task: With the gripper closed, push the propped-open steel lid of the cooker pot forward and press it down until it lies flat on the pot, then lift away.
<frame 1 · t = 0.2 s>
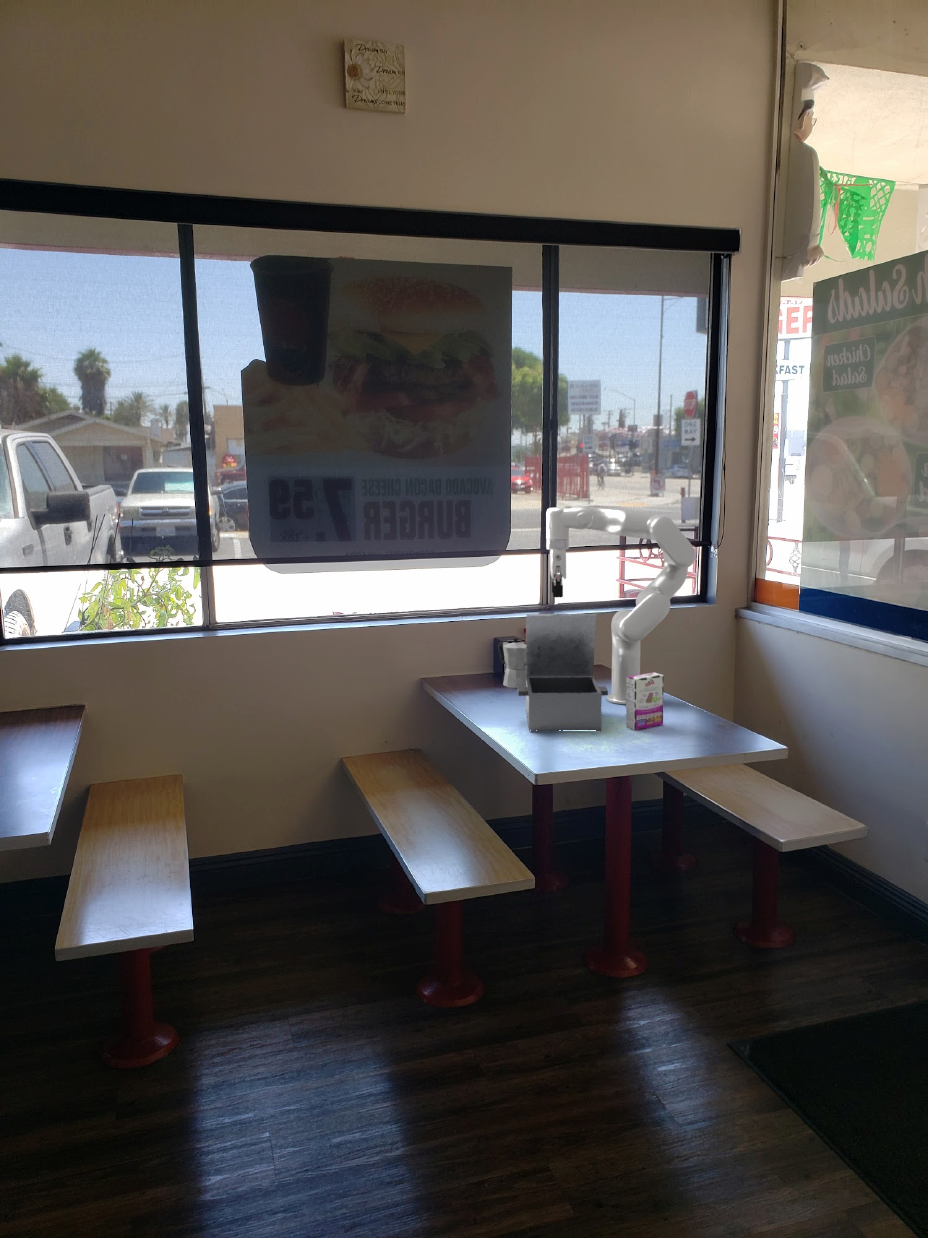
hand: (557, 595, 304), 37 cm above the table, tool pointing down, fingers open, 9 cm apart
cooker pot: (562, 721, 286), on the table
cooker lid: (560, 644, 292), point 23 cm above the table, hinge at 75.0°
coffeepot: (513, 685, 335), on the table
candy bar box: (644, 727, 280), on the table
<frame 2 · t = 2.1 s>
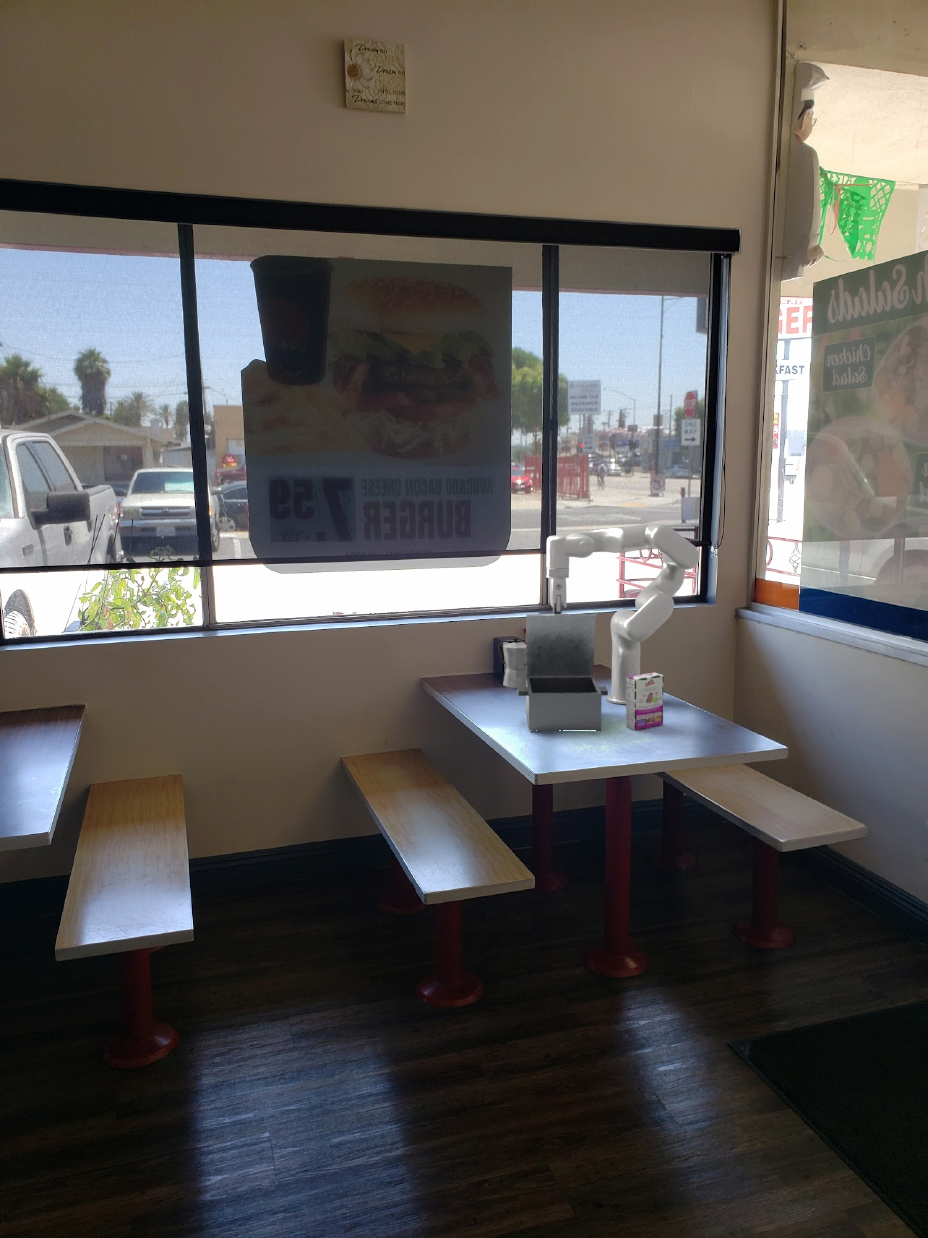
hand: (556, 627, 301), 27 cm above the table, tool pointing down, fingers closed
nothing on the table moved.
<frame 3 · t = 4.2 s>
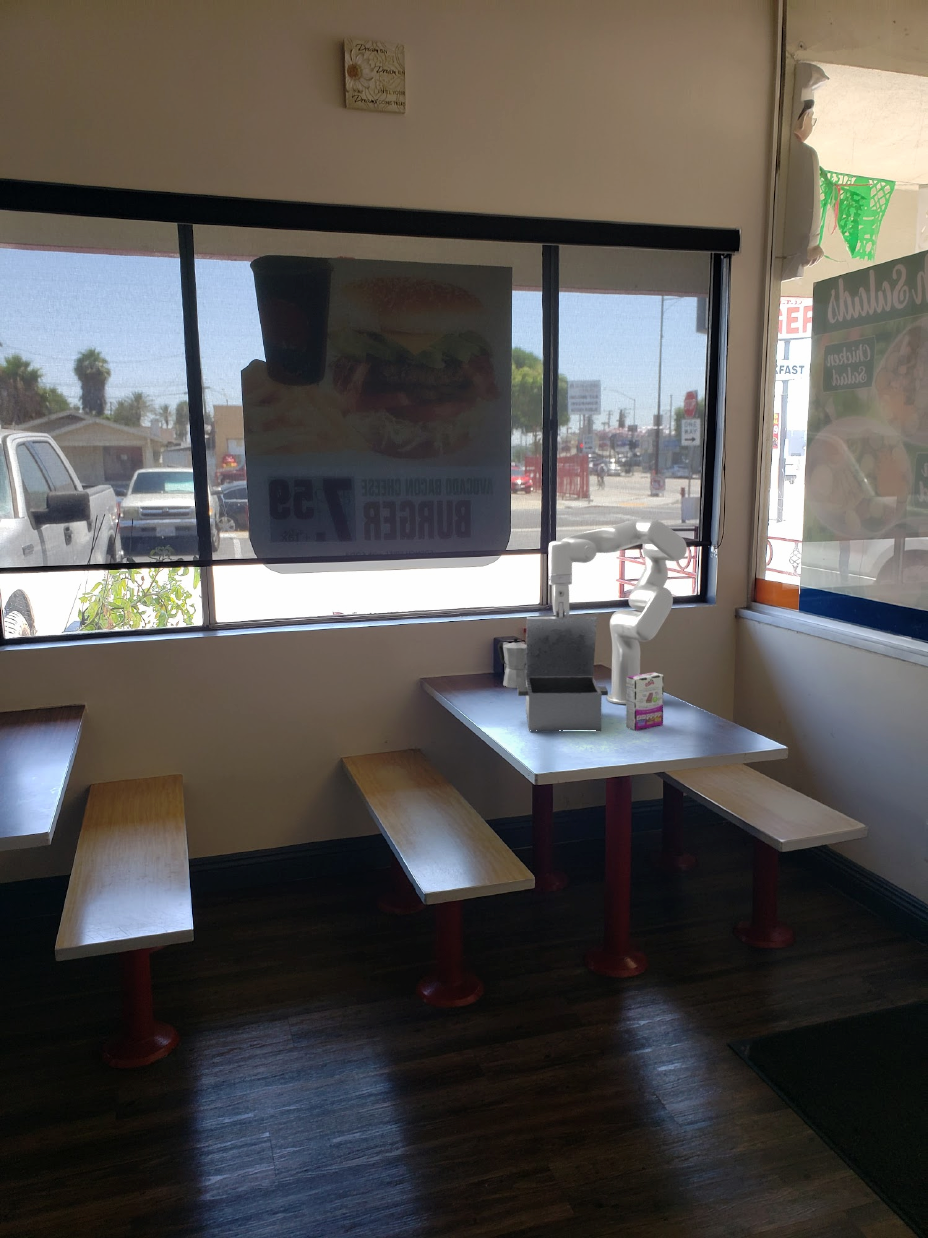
hand: (559, 635, 292), 26 cm above the table, tool pointing down, fingers closed
cooker lid: (560, 645, 291), point 23 cm above the table, hinge at 69.4°, touching gripper
everything else where it was.
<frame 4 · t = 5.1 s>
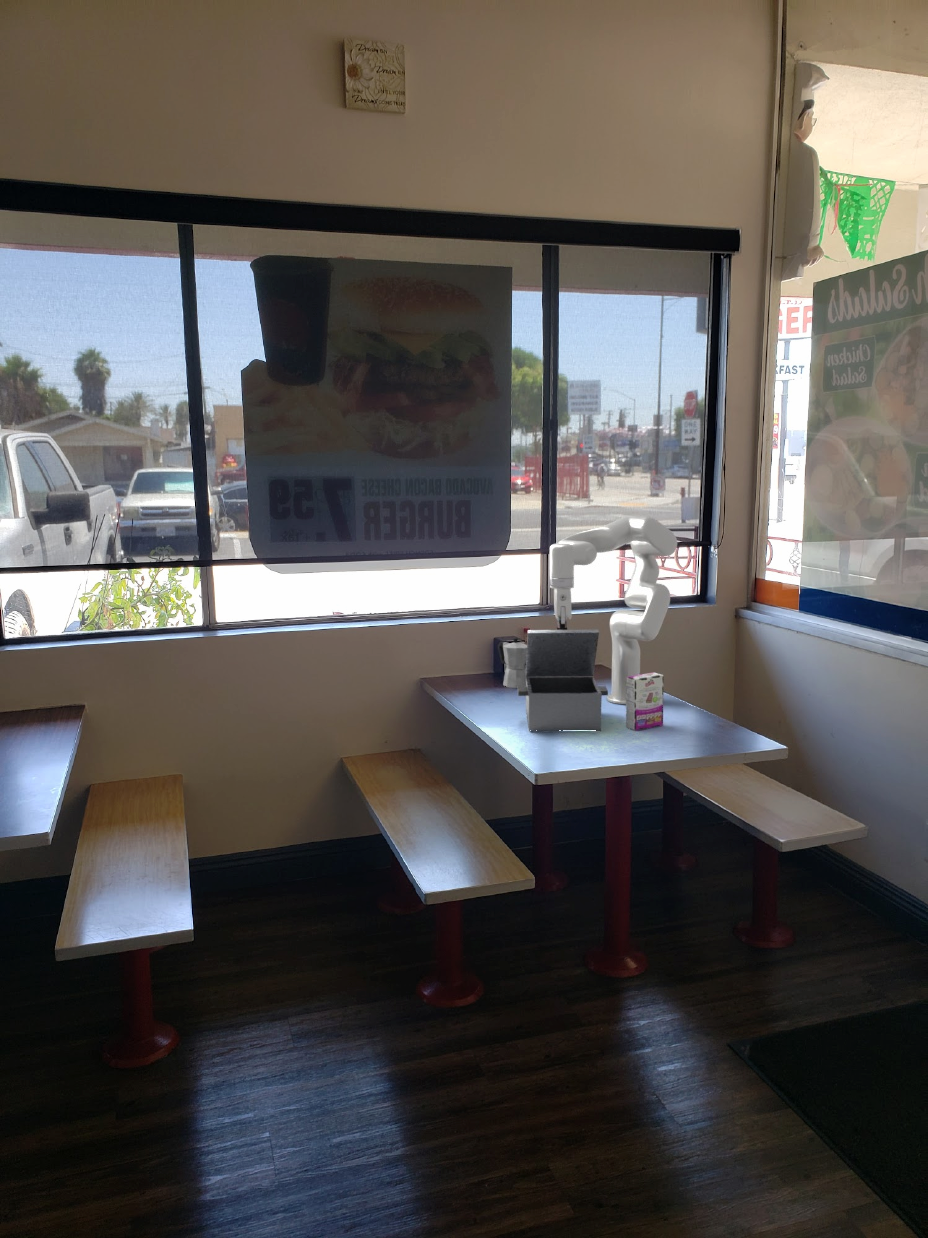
hand: (562, 639, 287), 26 cm above the table, tool pointing down, fingers closed
cooker lid: (561, 651, 288), point 22 cm above the table, hinge at 51.3°, touching gripper
everything else where it was.
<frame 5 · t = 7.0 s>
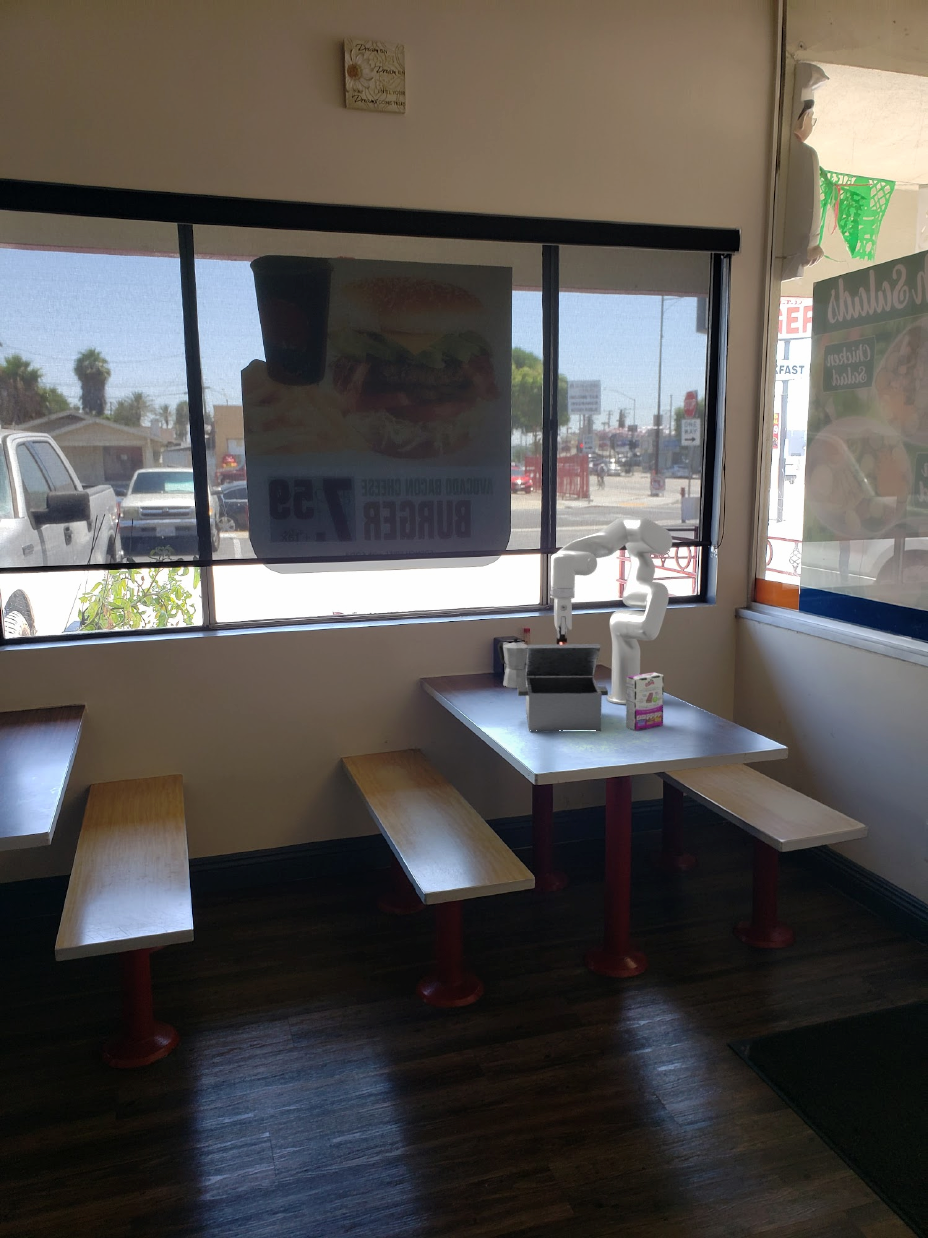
hand: (561, 650, 283), 23 cm above the table, tool pointing down, fingers closed
cooker lid: (561, 658, 286), point 20 cm above the table, hinge at 36.8°, touching gripper
everything else where it was.
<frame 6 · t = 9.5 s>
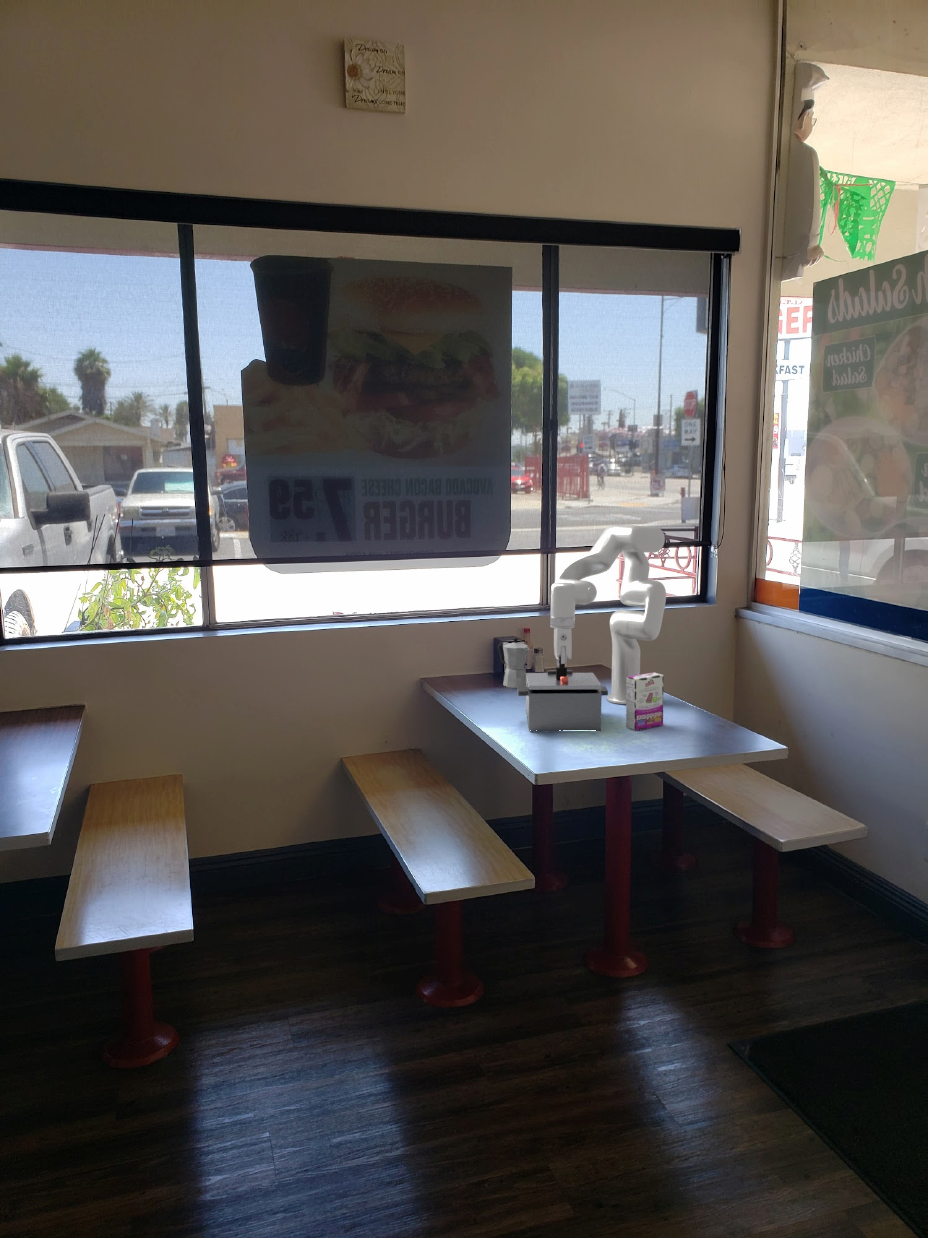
hand: (561, 679, 282), 14 cm above the table, tool pointing down, fingers closed
cooker lid: (562, 677, 284), point 14 cm above the table, hinge at 3.1°, touching gripper
everything else where it was.
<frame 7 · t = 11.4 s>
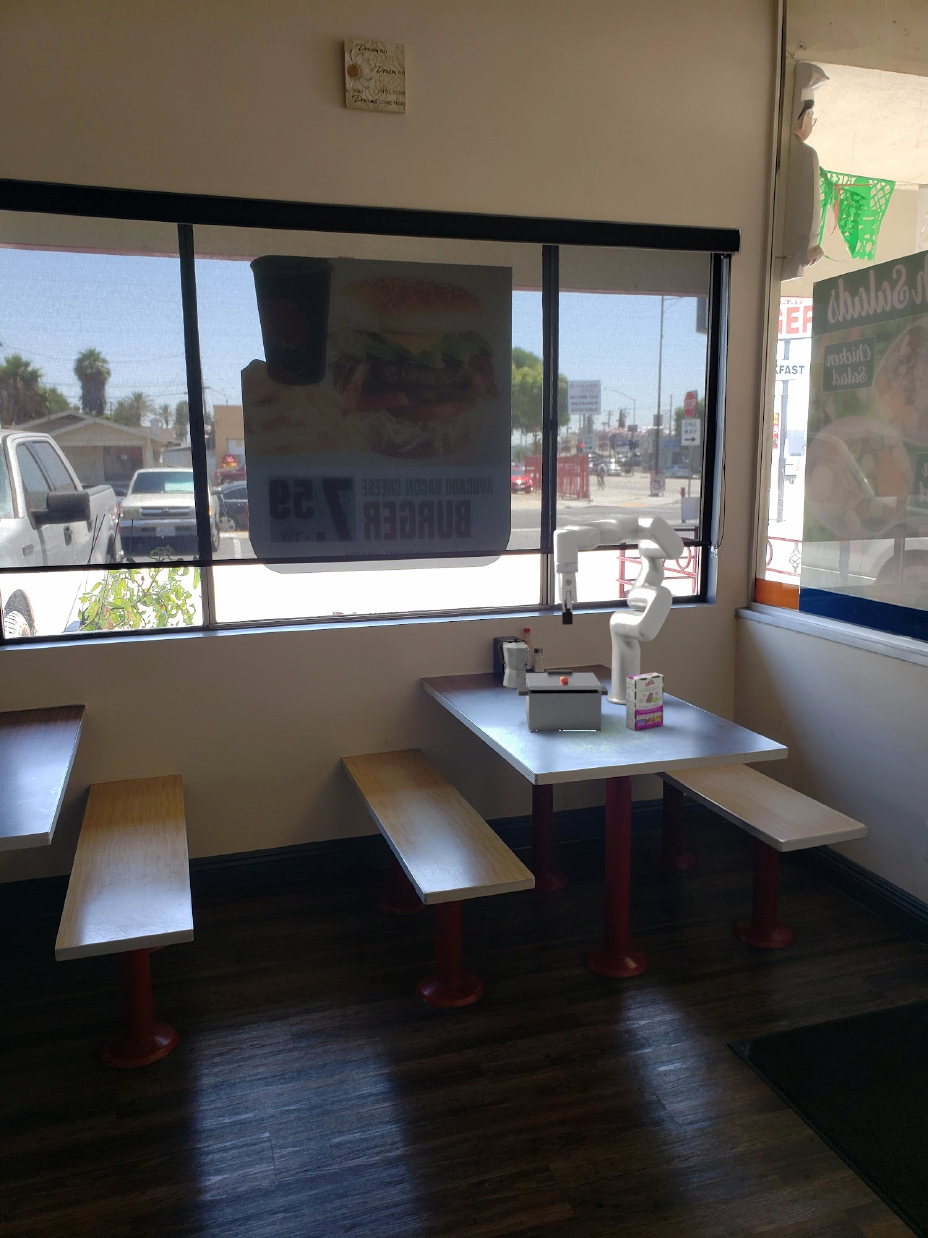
hand: (567, 623, 290), 30 cm above the table, tool pointing down, fingers closed
cooker lid: (562, 677, 284), point 14 cm above the table, hinge at 2.9°
everything else where it was.
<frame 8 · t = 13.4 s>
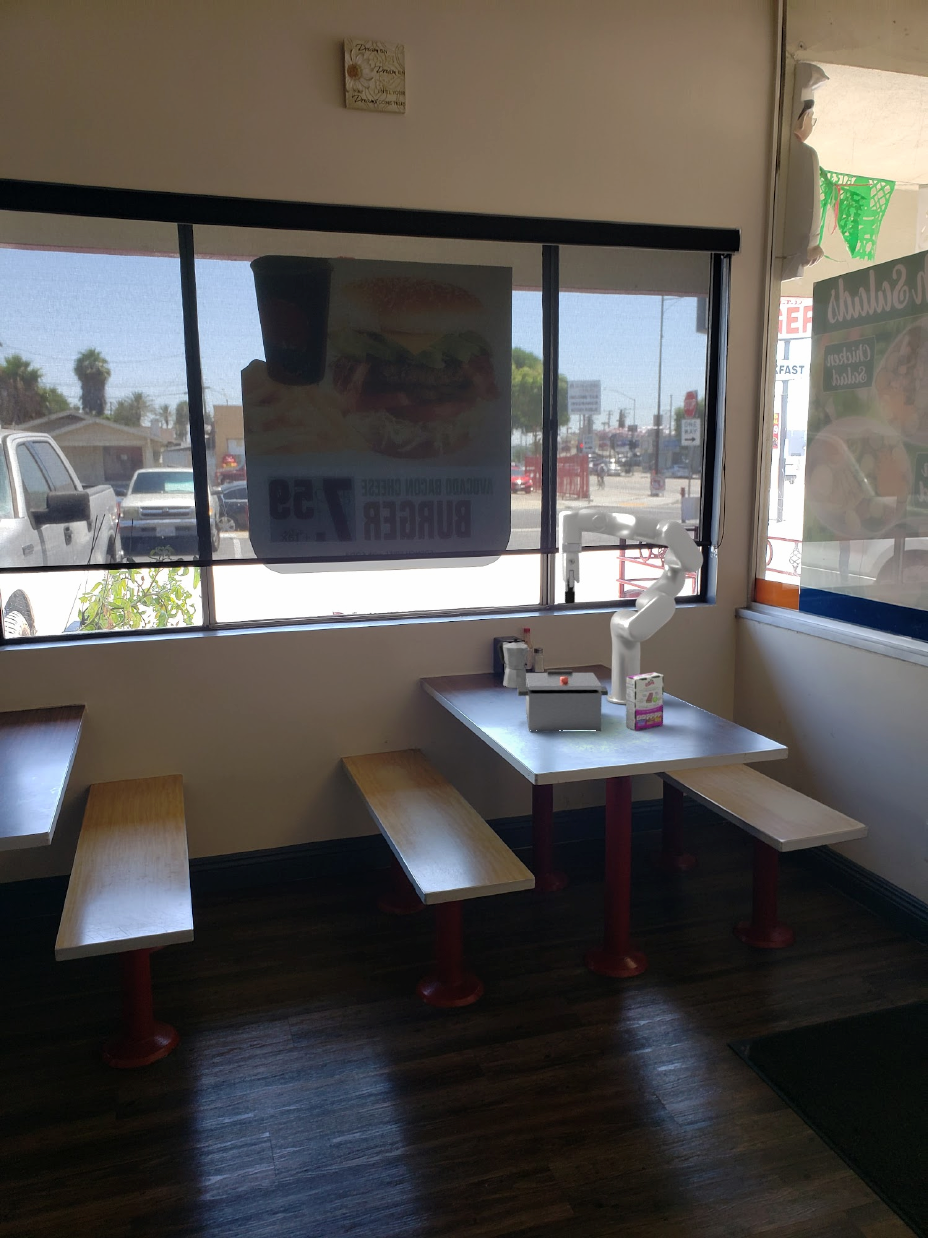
hand: (569, 603, 300), 35 cm above the table, tool pointing down, fingers closed
nothing on the table moved.
at the end: cooker lid at +3° (first picture: +75°); candy bar box moved 0.2 cm from its start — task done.
